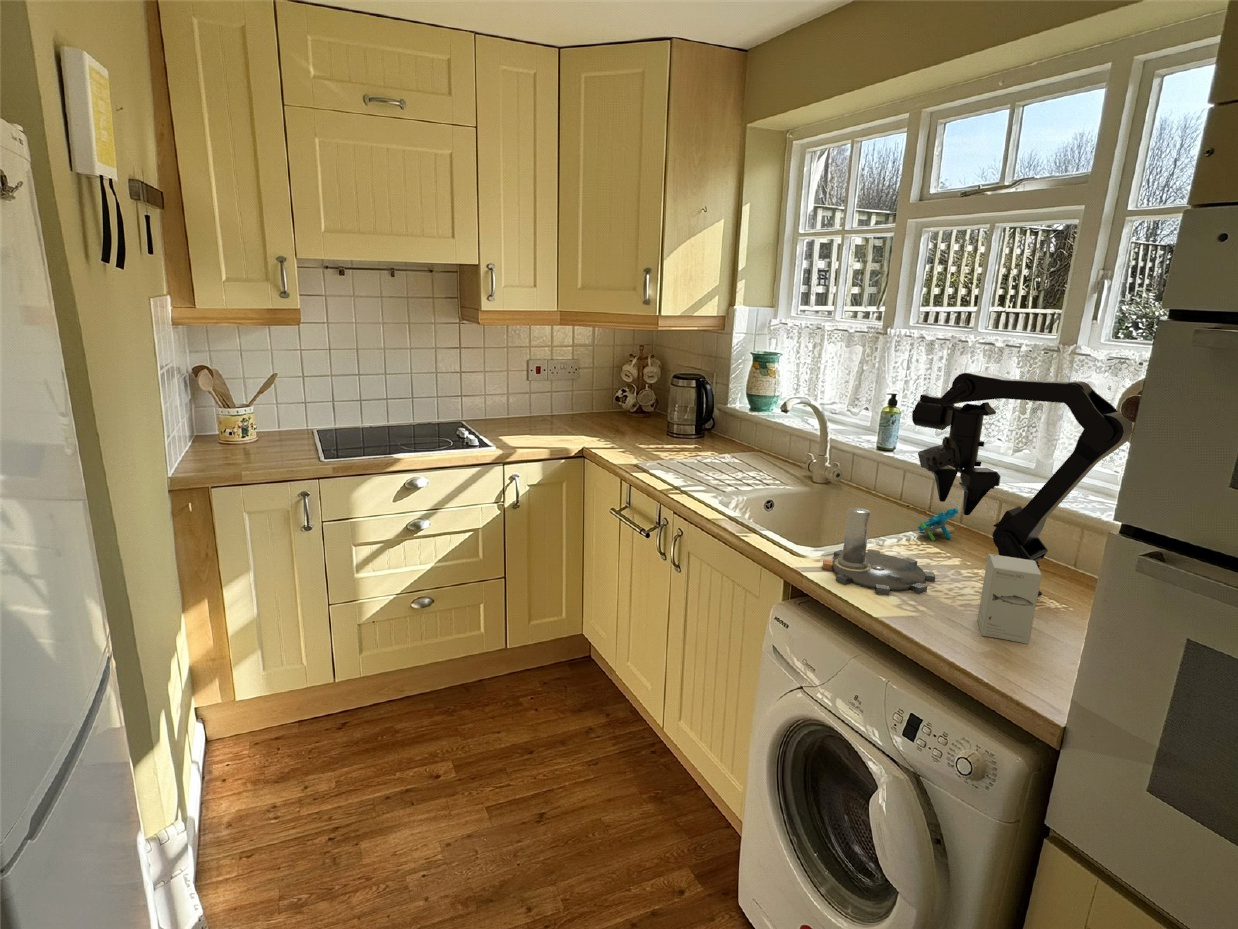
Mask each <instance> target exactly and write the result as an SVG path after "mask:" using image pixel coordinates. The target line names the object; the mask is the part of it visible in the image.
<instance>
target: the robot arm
mask: <svg viewBox="0 0 1238 929" xmlns="http://www.w3.org/2000/svg"><path fill="white" fill-rule="evenodd" d="M998 399H1003V400H1004V399H1005V400H1017V401H1018V400H1020V401H1030V402H1031V401H1033V402H1044V403H1045V402H1046V403H1057V404H1065V405H1066V407H1067V408H1068V409H1069V411H1070V412H1071V413H1072V415H1073V417H1074V419H1075V420H1076V422H1077V423H1078V424H1079V425H1080V427H1081V428H1083V430H1082V432H1081V434H1080V435H1079V437H1078V439H1077V442H1076V445H1075V448H1074V450H1073V452H1071V454H1070V455H1069V456H1068V458H1067V459H1066V460H1064V462H1063V463H1062V464H1061V466H1060V467H1059V468H1058V469H1056V471H1055V472H1054V474H1052V476H1051V477H1050V478H1049V479H1048V480H1047V481H1046V483H1044V485H1042V487H1041V488H1040V489H1039V490H1038V492H1037V493H1036V494H1035V495H1033V497H1032V498H1031V499H1030V501H1029V502H1028V503H1027V504H1026V505H1025V506H1024V507H1022V506H1020V505H1017V506H1016V507H1014V508H1011V509H1009V510H1006V511H1005V513H1004V514H1003V515H1002V517H1001V519H1000V520H999V521H998V522H997V523H995V524H993V527H994V531H992V535H991V536H992V542H993V543H994V545H995V547H996V548H997V551H998V555H1000V556H1007V557H1013V558H1020V559H1027V560H1034V561H1035V562H1036V564H1037V566H1038V568H1039V569H1040V566H1041V565H1040V564H1039V561H1040V560H1043V559H1044V558H1045V557H1046V555H1047V553H1048V552H1049V550H1048V548H1047V547H1046V546H1045V544H1044V543H1043V542H1042V540H1041V539H1040V537H1039V536H1040V534H1041V533H1042V531H1043V529H1044V527H1045V523H1046V521H1047V519H1048V517H1049V516H1050V515H1051V514H1052V513H1053V512H1054V511H1055V510H1056V508H1057V507H1058V506H1059V505H1060V504H1061V503H1062V502H1063V501H1064V500H1065V499H1066V497H1068V495H1070V493H1071V492H1072V491H1073V490H1074V489H1075V488H1076V486H1078V485H1079V483H1080V482H1082V480H1084V478H1085V477H1086V475H1088V473H1089V472H1090V471H1091V470H1092V469H1093V468H1094V467H1095V466H1097V464H1098V463H1099V462H1100V461H1102V460H1104V459H1105V458H1106V457H1108V456H1109V455H1110V454H1112V453H1114V452H1115V451H1116V450H1118V449H1119V448H1121V447H1122V446H1123V445H1125V444H1126V443H1127V442H1129V441H1130V440H1129V437H1130V435H1131V433H1132V421H1129V420H1128V419H1127V418H1125V417H1123V416H1122V414H1121V413H1122V412H1120V411H1118V410H1117V408H1116V407H1115V406H1113V404H1112V403H1110V402H1109V401H1107V399H1105V398H1104V397H1103V396H1101V395H1100V394H1099V393H1097V392H1096V391H1095V389H1093V388H1092V386H1090V384H1089V383H1087V382H1086V381H1081V380H1078V381H1077V380H1076V381H1059V380H1055V381H1054V380H1037V379H1018V378H1017V379H1015V378H1007V377H1004V376H1001V375H998V374H996V373H991V372H985V371H982V370H981V371H971V372H961V373H959V374H958V375H957V376H956V377H955V378H954V379H953V381H952V385H951V387H950V388H949V389H948V390H947V391H946V392H945V393H944V394H943V395H941V396H935V395H932V394H929V393H925V394H920V396H919V400H918V401H917V402H916V404H915V406H914V409H913V410H912V412H911V414H912V415H911V416H912V417H911V420H912V423H913V425H914V426H917V427H923V428H927V429H933V430H940V431H944V430H945V429H947V428H948V427H949V426H950V427H949V428H950V429H949V435H948V436H944V438H942V443H941V444H939V445H934V446H931V447H928V448H926V449H923V450H920V451H918V452H917V455H918V456H917V457H918V460H919V465H920V468H924V469H926V470H927V471H928V472H930V473H932V475H933V476H934V480H935V483H936V489H937V494H938V499H939V502H940V503H941V502H943V503H944V502H946V501H947V499H948V496H949V494H950V491H951V489H952V487H953V484H954V482H955V480H956V477H957V475H958V473H959V474H960V475H959V477H960V478H959V479H960V480H961V482H958V484H959V485H960V487H961V488H962V489H963V505H962V506H963V507H962V508H963V510H962V511H963V512H962V513H963V515H964V516H970V515H971V513H972V512H973V511H974V510H975V508H976V507H977V506H978V505H979V503H980V501H982V499H984V497H985V496H986V495H987V494H988V493H989V492H990V490H993V489H995V487H999V486H1000V482H1001V477H1002V476H1001V475H1000V474H999V473H998V472H997V471H996V470H993V469H992V468H991V469H990V468H989V467H982V461H981V460H978V455H979V449H980V447H983V448H984V446H985V441H983V440H981V435H982V430H983V423H984V416H985V417H987V416H993V415H996V413H997V411H996V410H995V409H994V407H992V406H991V405H990V403H989V402H988V401H989V400H998ZM979 401H981V402H982V401H986V402H982V403H981V404H974V403H971V402H979ZM968 402H969V403H968ZM961 403H964V405H962V406H957V405H956V404H961ZM1038 596H1043V592H1042V591H1041V590H1039V592H1038Z"/></svg>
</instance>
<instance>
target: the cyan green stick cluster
mask: <svg viewBox="0 0 1238 929" xmlns="http://www.w3.org/2000/svg"><path fill="white" fill-rule="evenodd" d="M959 511H960V510H959V509H958V507H954V508H950V509H947V510H946V512H944V511H941V512H939V513H938V514H937V515H935V516H932V517H930V518H928V520H926V521H922V522H920V523H919V526H918V527H917V528H918V530H919V532H920V531H922V532H924V533H925V534H926V533H927V534H928V536H929V538H930V539H931V541H933V542H934V541H936V538H935V536H934V535H933V533H932V531H936V530H939V529H941V531H942V532H943V535H944V536H945V537H946V539H948V540H949V539H951V538H952V535H951V534H950V532H949V530H948V529H947V527H946V522H947V521H949V519H952V518H954V517H956V515H957V514H959V513H960V512H959Z"/></svg>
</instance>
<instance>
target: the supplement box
mask: <svg viewBox="0 0 1238 929" xmlns="http://www.w3.org/2000/svg"><path fill="white" fill-rule="evenodd" d="M1042 574H1043V573H1042V571H1041V570H1040V567H1039V568H1038V566H1037V564H1036V562H1035V561H1034V560H1027V559H1020V558H1013V557H1007V556H1000V555H999V554H992V553H988V555H987V559H986V565H985V572H984V578H983V583H982V589H981V593H980V601H979V606H978V613H977V618H976V619H977V623H978V626H979V632H980V635H981V636H982V637H991V638H995V639H1001V640H1002V639H1003V640H1007V641H1011V642H1017V643H1022V644H1027V645H1028V644H1029V643H1030V639H1031V634H1032V627H1033V624H1034V623H1033V622H1034V617H1035V611H1036V606H1037V602H1038V597H1039V595H1038V592H1039V591H1040V586H1041V581H1042V577H1043V576H1042Z"/></svg>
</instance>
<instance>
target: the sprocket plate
mask: <svg viewBox="0 0 1238 929" xmlns="http://www.w3.org/2000/svg"><path fill="white" fill-rule="evenodd" d="M840 555H843V549H841V550H836V551H833V559H831V560H829V559H823V561H822V569H823V570H827V571H828V570H829V571H832V572H833V574H835V575H836V576H835V582H837V583H840V584H841V585H844V586H848V585H851V584H852V585H855V586H858V587H861V588H865V589H869V590H874V591H875V594H876V595H883V596H884V595H885V596H890V592H894V593H895V592H897V593H898V592H900V593H901V592H913V593H915V594H918V595H921V594H924V593H927V591H928V585H926V584H925V582H931V583H935V582H936V574H935V573H934V571H925V570H923V568H921V567H920V566H919V565H918V560H916V559H913V558H910V557H908V556H907V557H905V558H901V557H897V556H894V555H890V554H886V553H885V554H884V553H881V552H880V550H877V549H867V551H866V554H865V558H866V559H867V560H868V561H869V564H868V568H866V569H863V570H854V569H848V568H845V567H842V566H840V565H839V564H838V557H839V556H840Z"/></svg>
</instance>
